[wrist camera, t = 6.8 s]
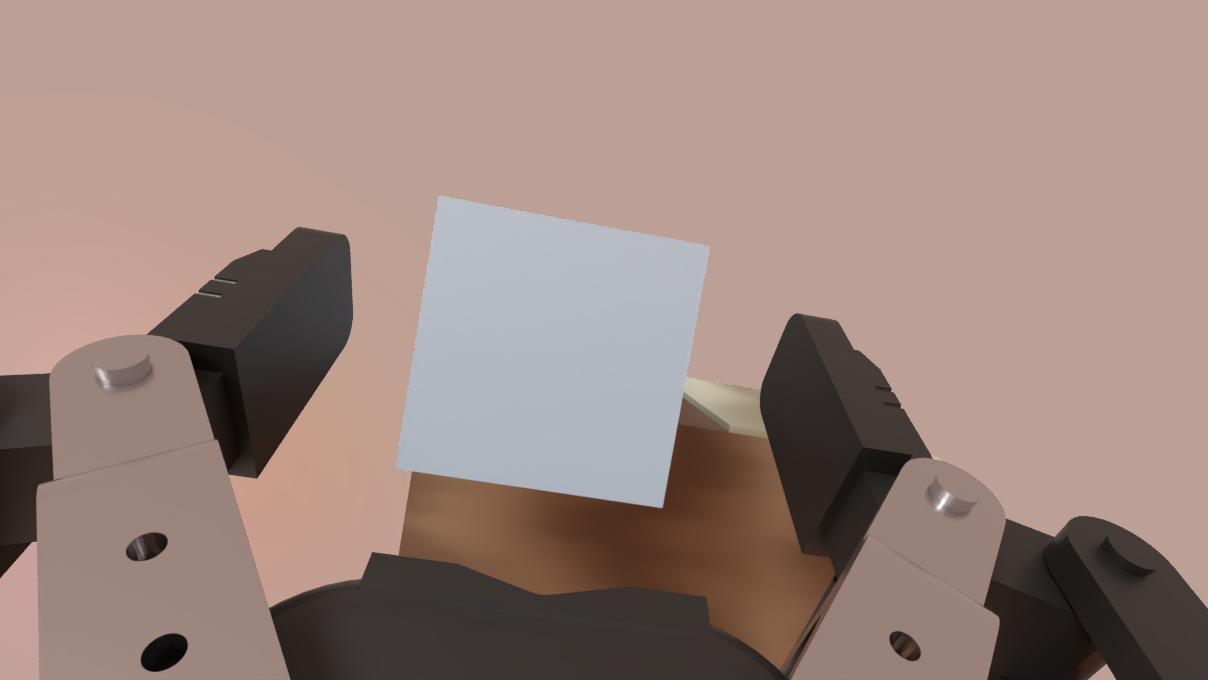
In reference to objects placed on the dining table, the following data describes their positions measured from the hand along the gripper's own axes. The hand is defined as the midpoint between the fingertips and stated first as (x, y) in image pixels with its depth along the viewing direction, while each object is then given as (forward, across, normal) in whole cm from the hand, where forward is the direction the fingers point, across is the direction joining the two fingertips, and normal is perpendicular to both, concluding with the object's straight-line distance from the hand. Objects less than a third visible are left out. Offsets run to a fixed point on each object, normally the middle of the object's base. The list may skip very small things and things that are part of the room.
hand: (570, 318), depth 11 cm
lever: (+5, 0, -5) cm, 7 cm away
